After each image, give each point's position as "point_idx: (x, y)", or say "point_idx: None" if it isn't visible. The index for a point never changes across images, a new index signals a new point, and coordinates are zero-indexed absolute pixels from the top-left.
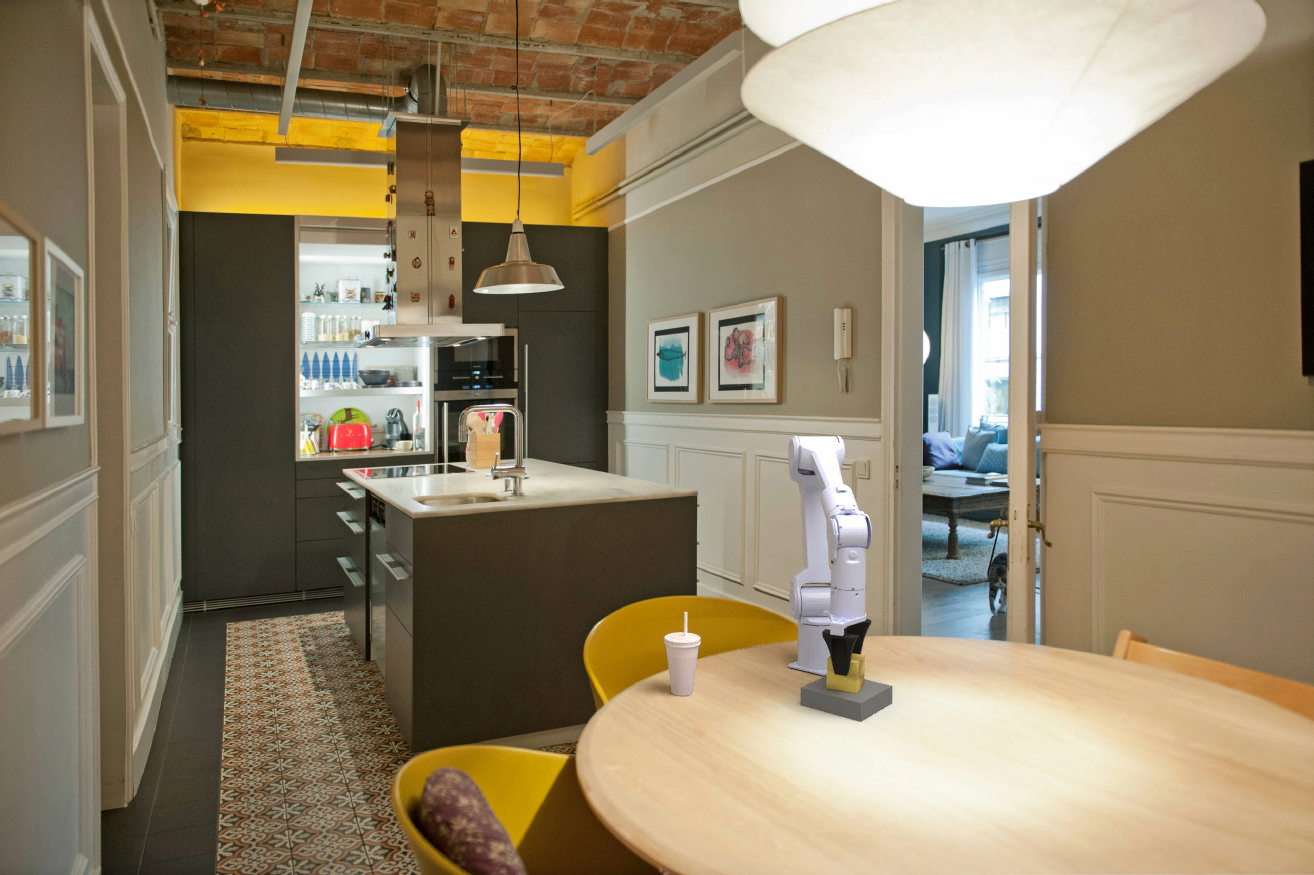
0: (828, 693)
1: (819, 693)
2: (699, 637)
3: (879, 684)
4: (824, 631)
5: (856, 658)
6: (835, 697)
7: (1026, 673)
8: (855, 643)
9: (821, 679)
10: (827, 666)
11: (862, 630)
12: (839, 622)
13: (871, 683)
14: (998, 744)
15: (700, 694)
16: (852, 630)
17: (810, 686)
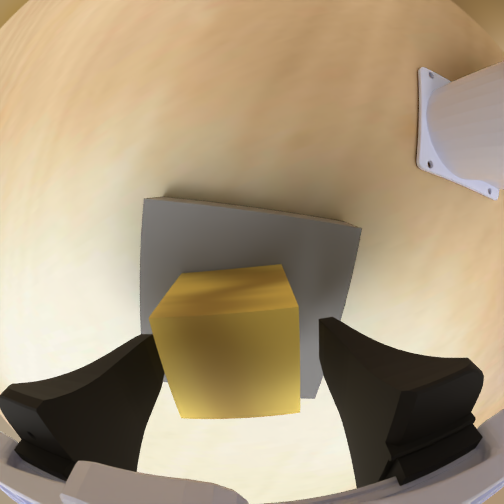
0: (148, 292)
1: (141, 266)
2: None
3: (309, 376)
4: (8, 407)
5: (235, 406)
6: (141, 315)
7: (484, 417)
8: (343, 397)
9: (261, 222)
10: (159, 304)
11: (357, 467)
12: (19, 499)
13: (308, 359)
14: (217, 483)
15: (121, 2)
16: (365, 432)
17: (171, 220)
